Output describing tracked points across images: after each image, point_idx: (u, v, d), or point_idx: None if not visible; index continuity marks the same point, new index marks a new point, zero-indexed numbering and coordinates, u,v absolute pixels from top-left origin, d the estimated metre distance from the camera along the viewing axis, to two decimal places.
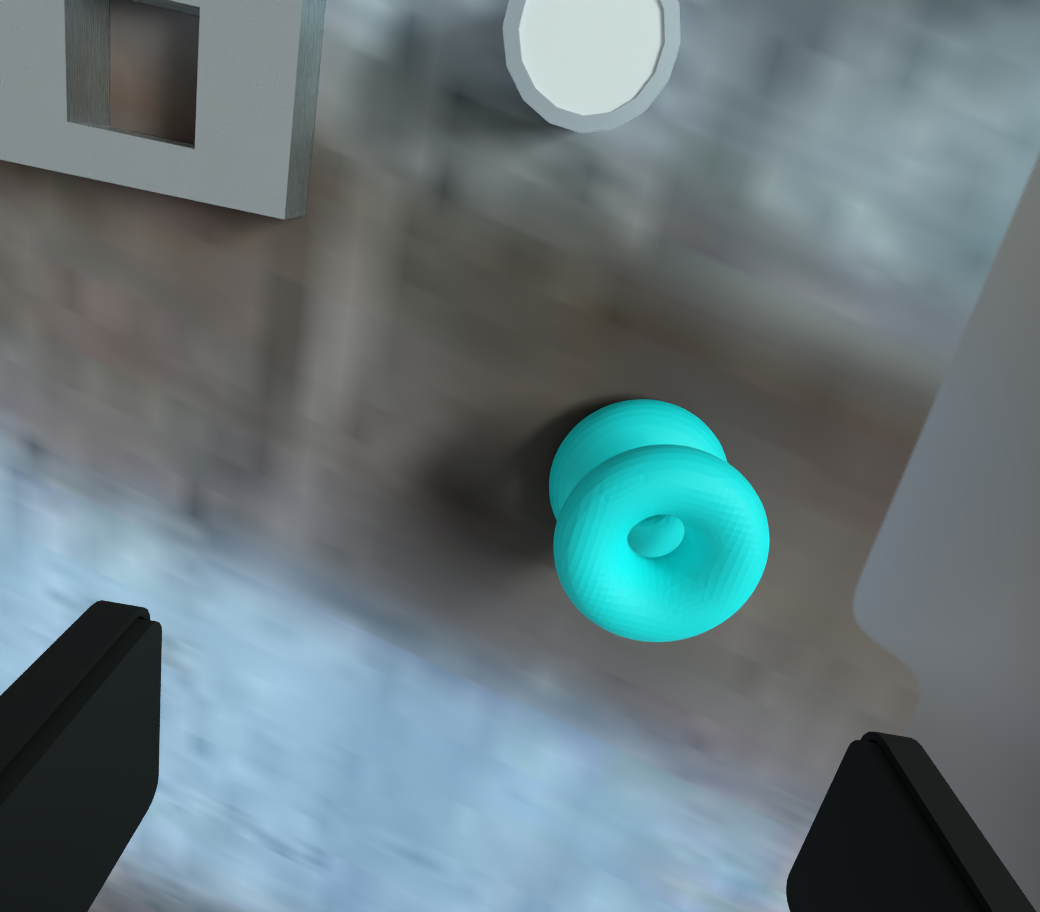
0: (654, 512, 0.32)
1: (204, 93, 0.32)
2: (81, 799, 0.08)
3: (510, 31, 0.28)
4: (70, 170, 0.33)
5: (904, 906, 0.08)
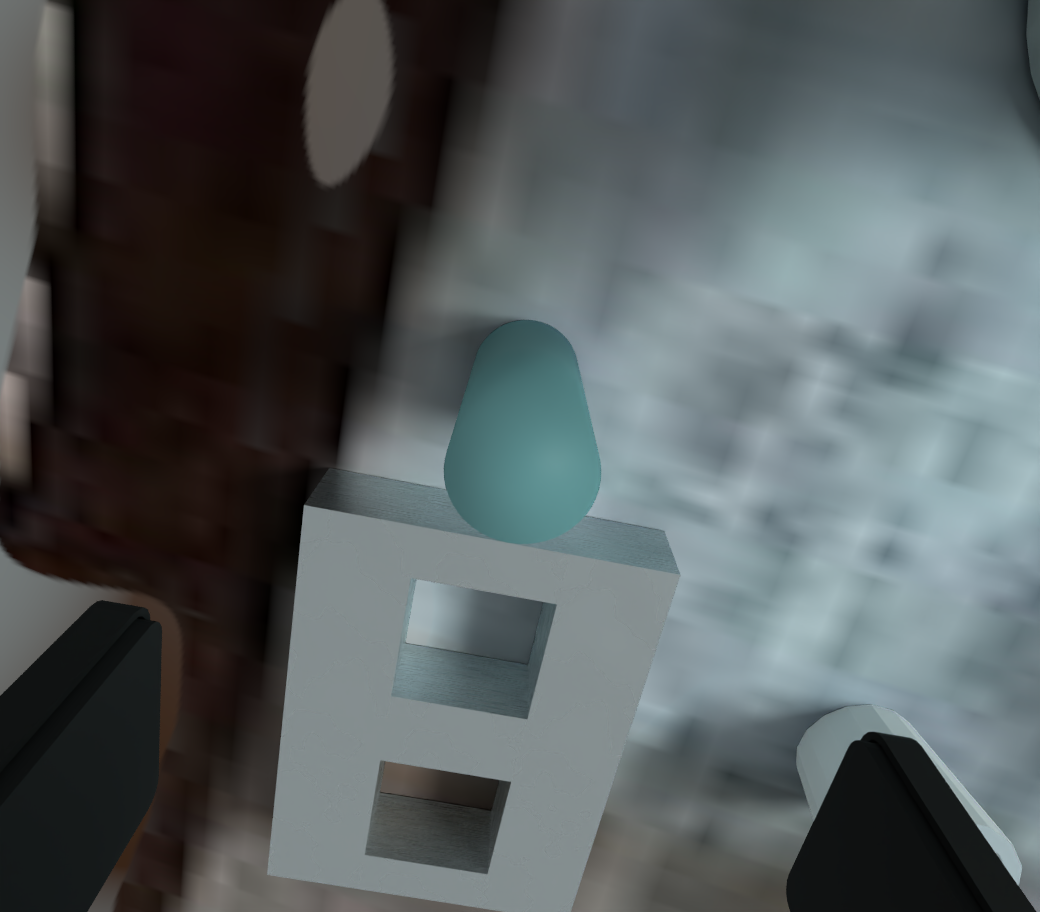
0: None
1: (504, 838, 0.32)
2: (81, 799, 0.08)
3: None
4: (361, 887, 0.33)
5: (904, 906, 0.08)
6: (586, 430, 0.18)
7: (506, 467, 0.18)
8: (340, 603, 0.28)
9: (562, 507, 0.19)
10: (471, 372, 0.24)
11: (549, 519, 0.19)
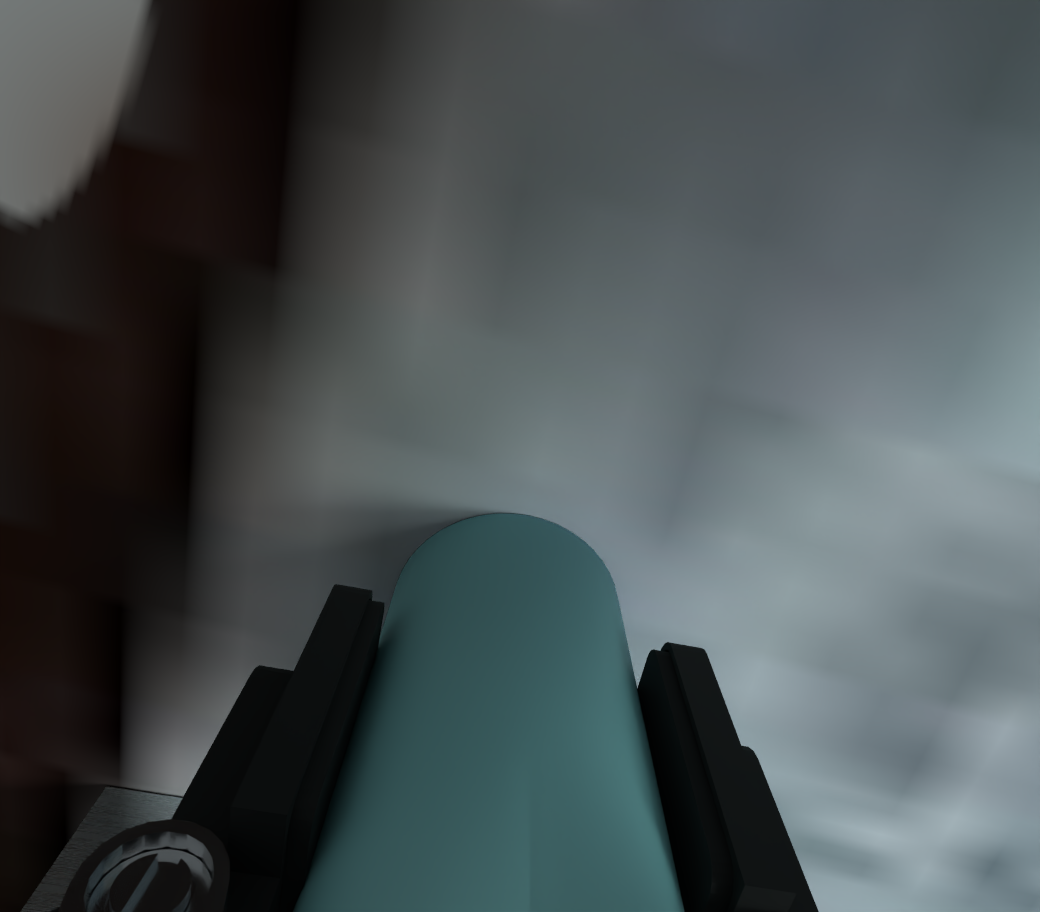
0: None
1: None
2: None
3: None
4: None
5: (661, 784, 0.09)
6: None
7: None
8: None
9: None
10: None
11: None
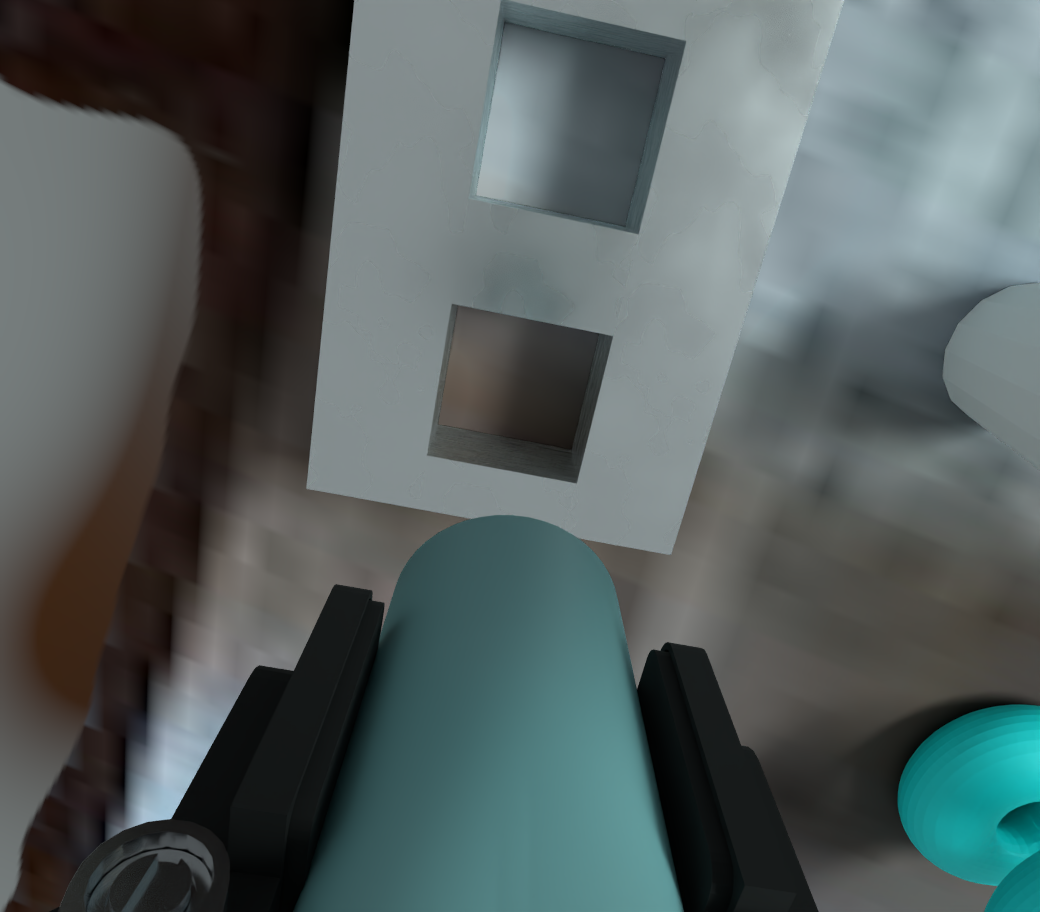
0: None
1: (600, 426, 0.26)
2: None
3: None
4: (421, 505, 0.27)
5: (661, 784, 0.09)
6: None
7: None
8: (408, 43, 0.22)
9: None
10: None
11: None
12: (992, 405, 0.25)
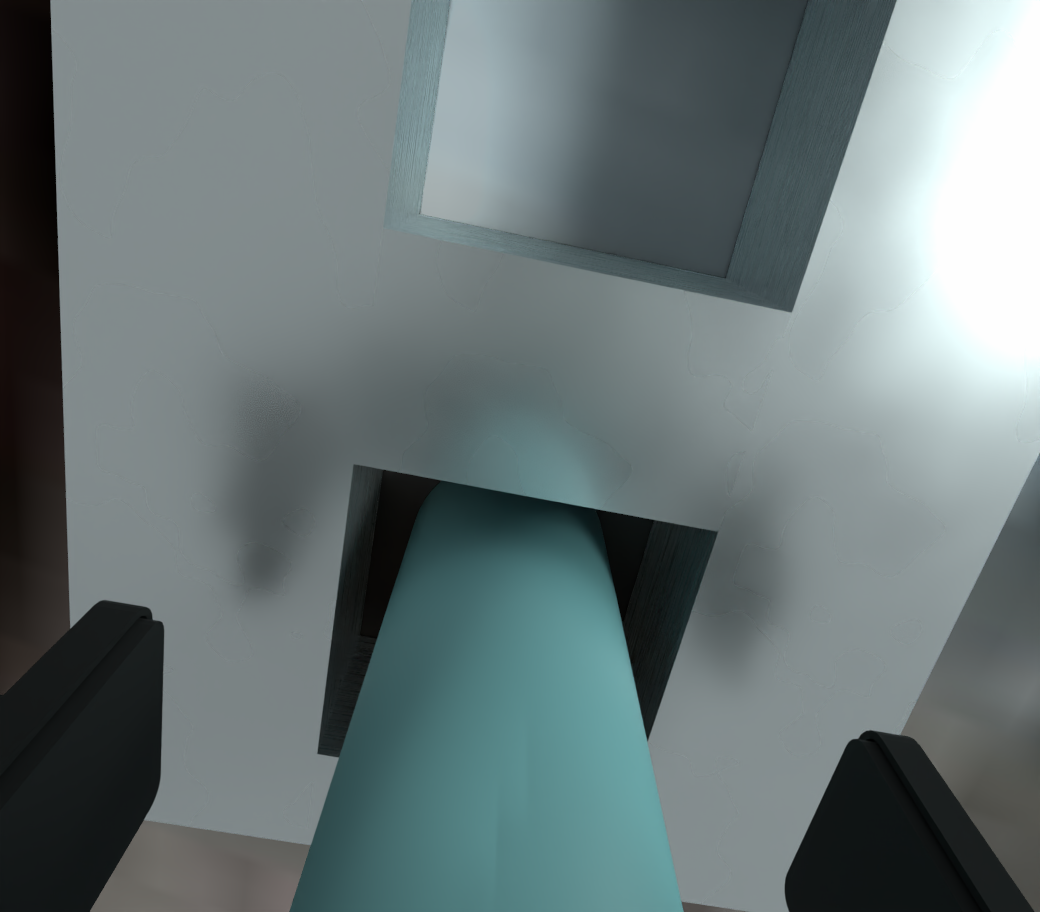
0: None
1: (680, 703, 0.12)
2: (84, 798, 0.08)
3: None
4: (312, 839, 0.13)
5: (901, 905, 0.08)
6: None
7: None
8: None
9: None
10: (392, 593, 0.12)
11: None
12: None
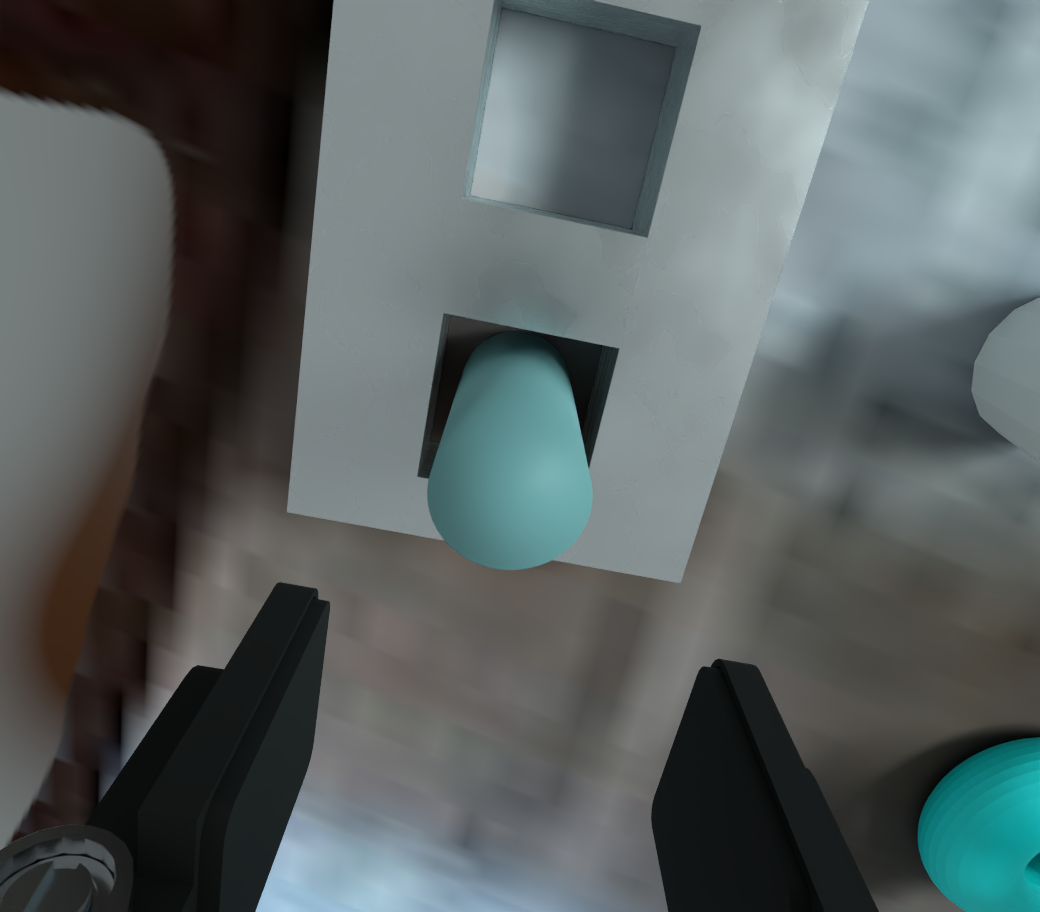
0: None
1: (605, 445, 0.24)
2: (284, 754, 0.09)
3: None
4: (411, 530, 0.25)
5: (721, 805, 0.09)
6: (577, 451, 0.17)
7: (493, 490, 0.17)
8: (395, 27, 0.20)
9: (552, 531, 0.18)
10: (458, 386, 0.24)
11: (538, 544, 0.18)
12: (1030, 424, 0.23)
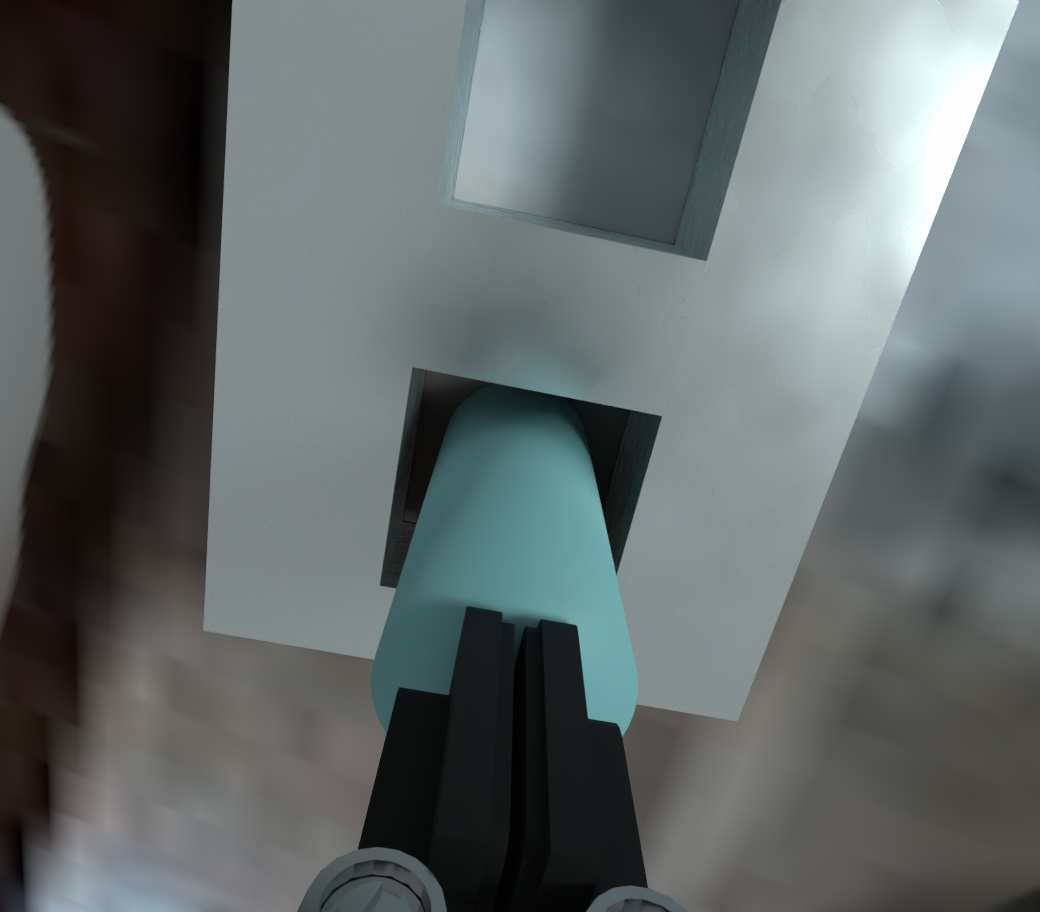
0: None
1: (639, 545, 0.17)
2: None
3: None
4: (374, 654, 0.18)
5: (514, 758, 0.09)
6: (614, 624, 0.10)
7: None
8: None
9: None
10: (435, 465, 0.17)
11: None
12: None
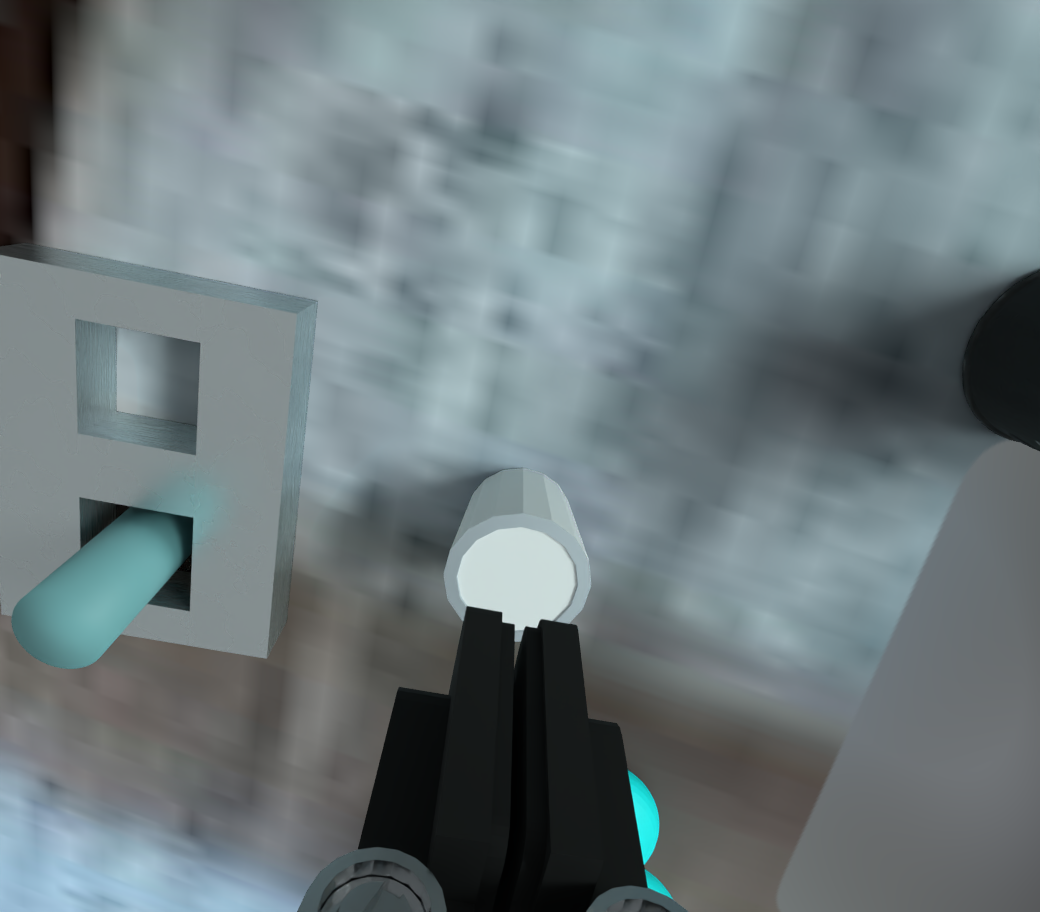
0: None
1: (197, 574, 0.37)
2: None
3: (450, 578, 0.33)
4: None
5: (514, 758, 0.09)
6: (90, 606, 0.30)
7: (49, 626, 0.31)
8: (20, 343, 0.33)
9: (88, 648, 0.31)
10: None
11: (82, 654, 0.31)
12: None
